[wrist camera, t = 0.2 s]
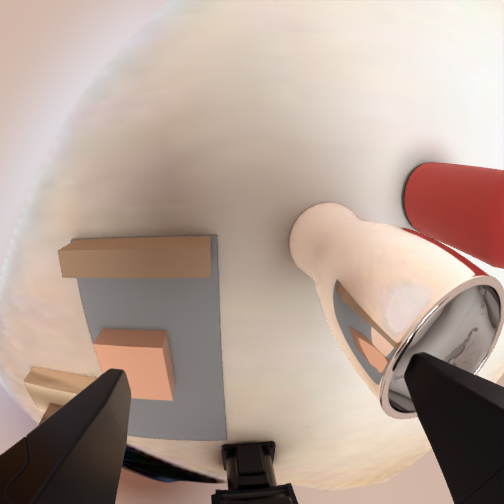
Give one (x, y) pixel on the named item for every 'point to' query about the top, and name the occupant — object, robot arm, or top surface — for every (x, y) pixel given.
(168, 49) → the top surface
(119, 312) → the slate board
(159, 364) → the tile
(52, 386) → the two-tone stepped block
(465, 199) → the beer can
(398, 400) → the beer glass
